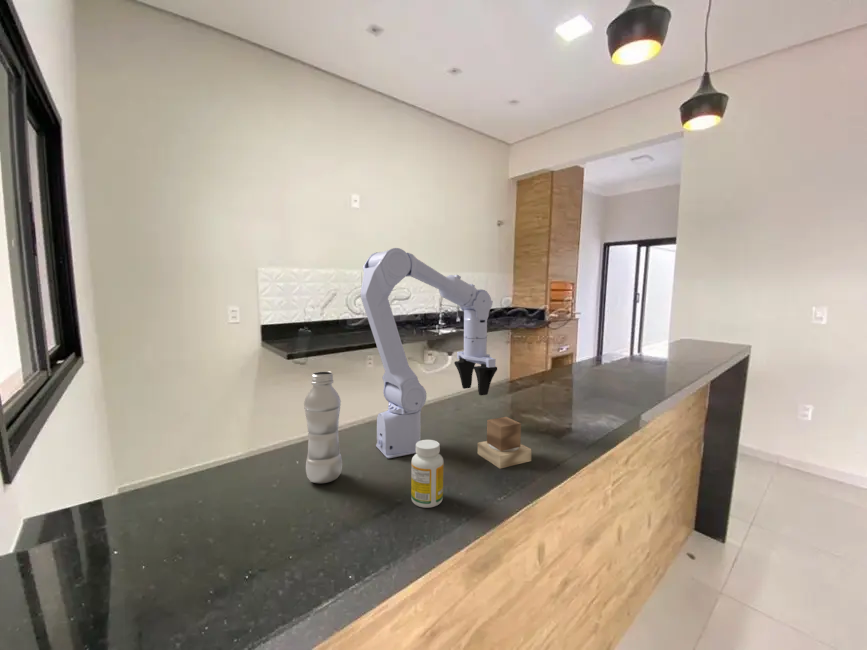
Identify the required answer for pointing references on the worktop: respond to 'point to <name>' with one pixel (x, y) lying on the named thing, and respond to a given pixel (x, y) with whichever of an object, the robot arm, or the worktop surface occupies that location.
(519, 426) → the walnut cube
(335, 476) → the plastic bottle
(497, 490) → the worktop surface
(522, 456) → the base block
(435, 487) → the supplement bottle
